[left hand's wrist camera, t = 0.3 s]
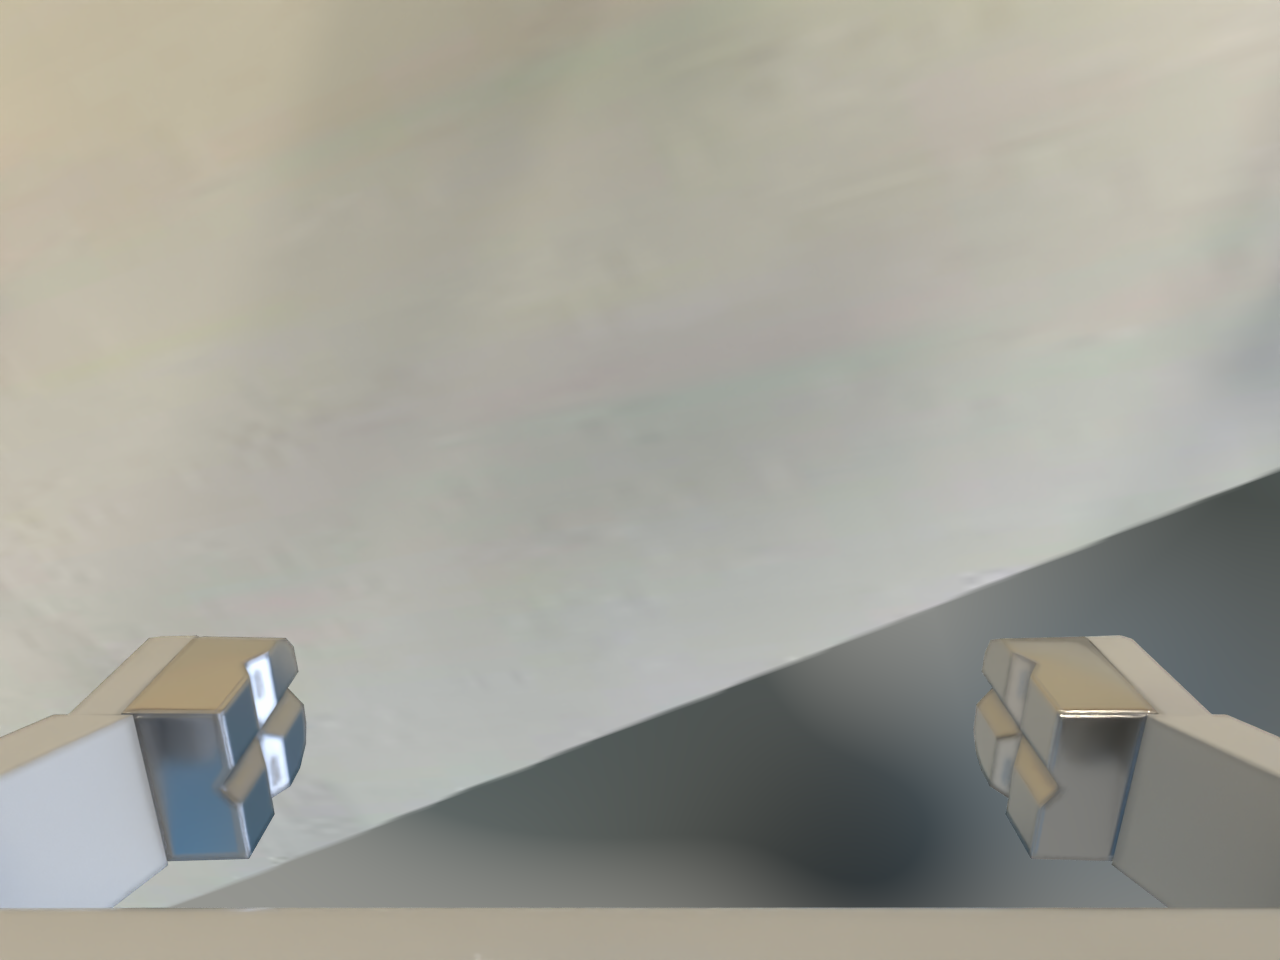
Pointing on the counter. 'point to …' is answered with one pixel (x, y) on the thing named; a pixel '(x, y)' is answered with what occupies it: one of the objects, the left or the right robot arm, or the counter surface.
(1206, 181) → the counter surface
